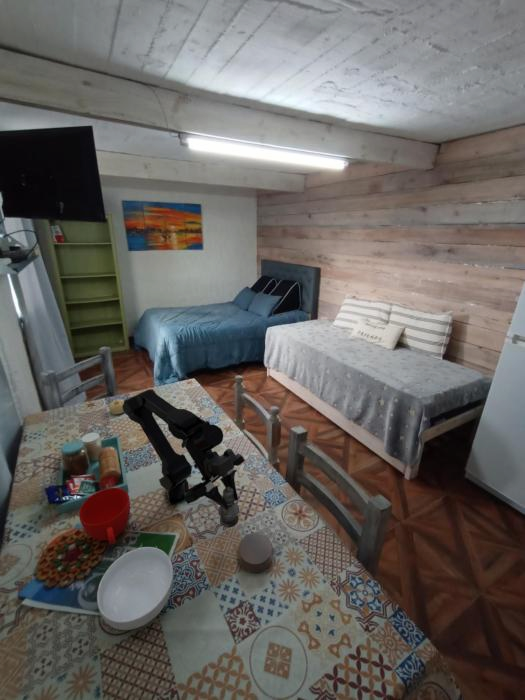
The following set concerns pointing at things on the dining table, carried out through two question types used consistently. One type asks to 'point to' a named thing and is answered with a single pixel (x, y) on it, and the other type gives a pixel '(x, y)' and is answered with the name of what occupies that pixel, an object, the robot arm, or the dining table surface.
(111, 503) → the ceramic cup
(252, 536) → the walnut puck
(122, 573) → the cereal bowl
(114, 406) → the onion
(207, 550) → the dining table surface
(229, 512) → the grey stone chess piece
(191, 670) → the dining table surface
